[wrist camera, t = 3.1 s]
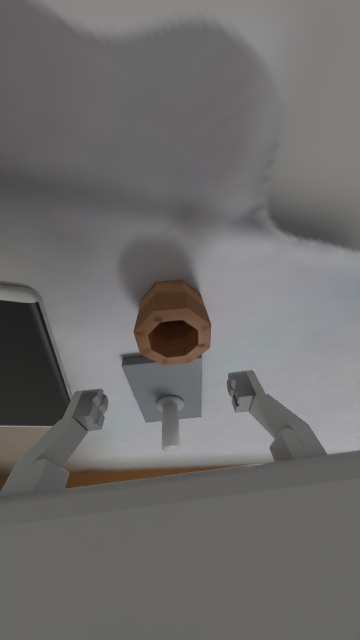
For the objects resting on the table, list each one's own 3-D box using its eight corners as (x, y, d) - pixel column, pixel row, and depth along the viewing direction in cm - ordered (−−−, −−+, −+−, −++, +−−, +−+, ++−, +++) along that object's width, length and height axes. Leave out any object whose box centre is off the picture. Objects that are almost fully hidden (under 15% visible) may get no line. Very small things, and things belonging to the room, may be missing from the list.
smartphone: (44, 286, 16) (32, 294, 15) (81, 418, 32) (78, 428, 30) (-134, 262, 14) (-167, 269, 13) (-1, 417, 29) (-9, 428, 28)
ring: (200, 278, 16) (212, 305, 12) (200, 327, 20) (209, 361, 16) (137, 283, 16) (127, 313, 12) (148, 332, 20) (144, 367, 16)
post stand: (200, 350, 22) (212, 406, 16) (200, 410, 32) (207, 458, 26) (123, 358, 22) (108, 416, 16) (146, 415, 31) (142, 465, 26)
